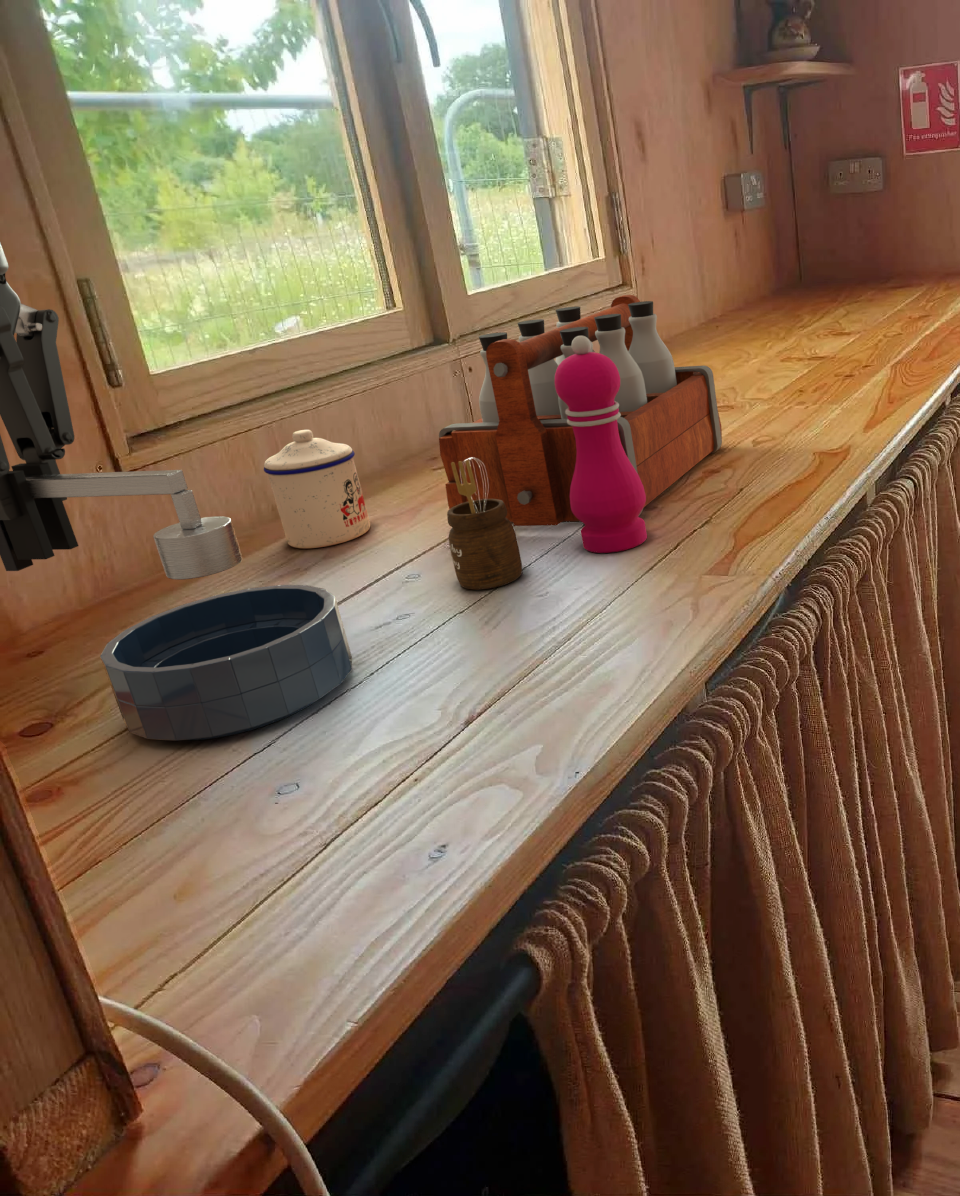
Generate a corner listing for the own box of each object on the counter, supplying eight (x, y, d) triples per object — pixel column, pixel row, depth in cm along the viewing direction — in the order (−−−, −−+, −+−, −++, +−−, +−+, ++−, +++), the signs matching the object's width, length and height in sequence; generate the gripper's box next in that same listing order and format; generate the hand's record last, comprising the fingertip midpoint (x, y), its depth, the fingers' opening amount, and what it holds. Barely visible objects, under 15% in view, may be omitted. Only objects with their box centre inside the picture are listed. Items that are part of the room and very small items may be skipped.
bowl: (77, 745, 79) (48, 668, 77) (234, 651, 93) (213, 584, 91) (259, 756, 75) (233, 675, 73) (395, 655, 89) (377, 585, 86)
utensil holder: (525, 564, 106) (500, 440, 102) (521, 586, 101) (494, 456, 96) (462, 573, 106) (433, 449, 101) (454, 596, 100) (424, 466, 96)
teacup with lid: (367, 541, 119) (339, 433, 115) (277, 555, 117) (245, 447, 113) (381, 510, 130) (356, 411, 126) (299, 523, 128) (271, 423, 124)
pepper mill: (630, 556, 105) (594, 341, 98) (564, 554, 108) (524, 344, 101) (664, 530, 112) (633, 327, 104) (601, 529, 114) (566, 330, 107)
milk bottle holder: (439, 535, 118) (396, 351, 111) (581, 447, 149) (555, 299, 142) (623, 533, 112) (591, 338, 105) (732, 442, 143) (712, 287, 136)
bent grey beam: (258, 554, 82) (230, 461, 79) (207, 579, 77) (176, 481, 75) (42, 556, 87) (9, 469, 85) (-16, 580, 83) (-53, 489, 80)
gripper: (-145, 225, 68) (-1, 589, 76) (59, 207, 80) (163, 520, 89) (-231, 236, 70) (-82, 589, 78) (-19, 217, 82) (89, 522, 91)
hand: (48, 552), depth 84 cm, fingers closed on bent grey beam, 1 cm apart
